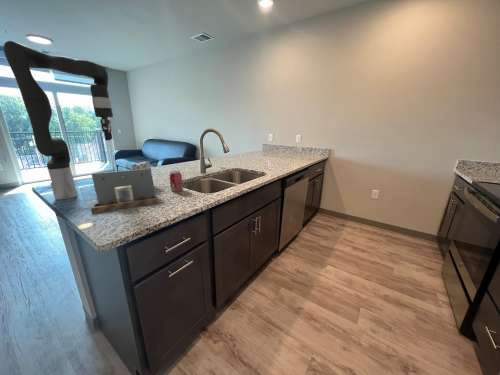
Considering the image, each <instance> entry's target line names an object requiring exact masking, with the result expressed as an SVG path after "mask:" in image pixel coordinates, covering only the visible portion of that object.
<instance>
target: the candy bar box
mask: <svg viewBox="0 0 500 375" xmlns="http://www.w3.org/2000/svg"><path fill="white" fill-rule="evenodd" d="M138 169H150V171H151V178H152V184H153V185H154V181H153V179H154V178H153V175H152V174H153V173H152V168H151V162H150V161H141V162H138V163H134V164H131V170H138Z"/></svg>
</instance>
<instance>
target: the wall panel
mask: <svg viewBox="0 0 500 375" xmlns="http://www.w3.org/2000/svg"><path fill="white" fill-rule="evenodd" d="M151 173H152V170H151V171H150V169H138V170H133V169H129V170H128V169H127V170H118V171H117V170H116V171H106V172H105V171H104V172H93V173H91V177H92V181H93V187H94V186H95V188H94V191H96V192H95V195H96V198H97V203H100V202H107V201H114V200H117V198H116V193H115V187H122V186H130V185H131V187H132V193H133V198H136V197H143V196H151V195H155V193H154V192H155V191H154V183H153V184H152V179H153V177H152V178H151Z"/></svg>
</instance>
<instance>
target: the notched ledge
mask: <svg viewBox="0 0 500 375" xmlns="http://www.w3.org/2000/svg"><path fill="white" fill-rule="evenodd" d="M155 203H156V204H158V203H157V197H156V194H154V195H151V196H143V197H136V198H134V201H132V202H131V201H129V202H122V203H117V200H114V201H107V202H100V203H98V202H94V203H93V204H92V206H91V207H90V210H91V211H90V212H91V214H97V213H98V214H99V213H103V212H110V211H115V210H122V209H123V210H124V209H128V208H130V209H131V208H136V207H143V206H149V205H154V204H155ZM156 204H155V205H156Z"/></svg>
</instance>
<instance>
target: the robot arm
mask: <svg viewBox="0 0 500 375" xmlns="http://www.w3.org/2000/svg"><path fill="white" fill-rule="evenodd" d="M3 54H4V55H5V58H6V60H7V63H8V65H9V67H10V70H11V71H12V73H13V75H14V78H15V81H16V83H17V86H18V89H19V91H20V94H21V97H22V102H23V104H24V107H25V110H26V112H27V115H28V118H29V122H30V125H31V129H32V132H33V133H32V134H33V137H34V144H35V146H36V149H37V151H38V153H40V154H41V155H43V156H45V157H51V159H50V160H49V161H48V162H47V163H46V167H47V171H48V174H49V178H50V180H51V181H50V186H51V190H52V193H53V196H54V200H58V201H59V200H61V201H62V200H69V199H73V198H76V197H77V196H79V194H78V190H77V187H76V184H75V180H74V175H73V172H72V168H71V158H70V152H69V147H68V145H67V142H66V141H65V139H63V138H60V137H57V136H54V137H52V135H51V132H50V122H51V119H52V114H53V110H52V105H51V102H50V100H49V97H48V95H47V93H46V92H45V90H44V89H43V88H42V87H41V86H40V84H39V83H38V82H37V81H36V80H35V78H34V76H33V74H32V72H31V69H49V70H55V71H59V72H62V73H65V74H71V75H74V76H83V77H86V78H91V79H93V84H91V85H90V93H91V97H92V105H93V111H94V114H95V115H94V116H95V118H96V117H97V118H101V119H99V122H100V125H101V131H102V133H103V136H104V139H105V141H111V140H113V134H112V132H113V131H112V130H113V129H112V124H111V120H110V119H109V118H114V114H113V110H112V109H113V108H112V103H111V100H110V96H109V91H108V86H109V85H108V84H109V76H108V71H107V69H106V68H105V67H104V66H103V65H101V64H99V63H96V62H94V61H90V60H87V59H85V60H84V59H77V58H74V57H69V56H63V55H52V54H48V53H44V52H42V51H39V50H37V49H34V48H32V47H30V46H28V45H25V44H22V43H19V42H17V41H13V40H8V41H6V42H5V43H4V44H3Z"/></svg>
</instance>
